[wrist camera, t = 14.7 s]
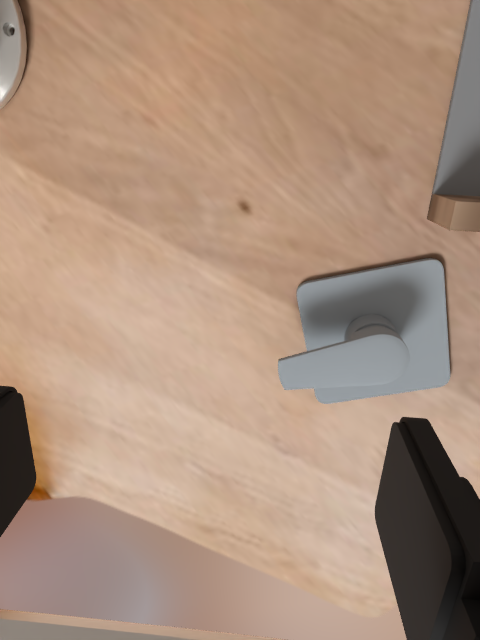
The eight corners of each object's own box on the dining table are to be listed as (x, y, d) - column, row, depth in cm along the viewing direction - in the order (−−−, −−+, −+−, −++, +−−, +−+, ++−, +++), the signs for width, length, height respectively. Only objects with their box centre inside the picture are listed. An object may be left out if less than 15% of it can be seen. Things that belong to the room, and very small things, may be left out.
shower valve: (264, 309, 34) (465, 271, 32) (265, 287, 39) (439, 254, 37) (292, 438, 39) (471, 413, 36) (290, 404, 44) (447, 380, 42)
